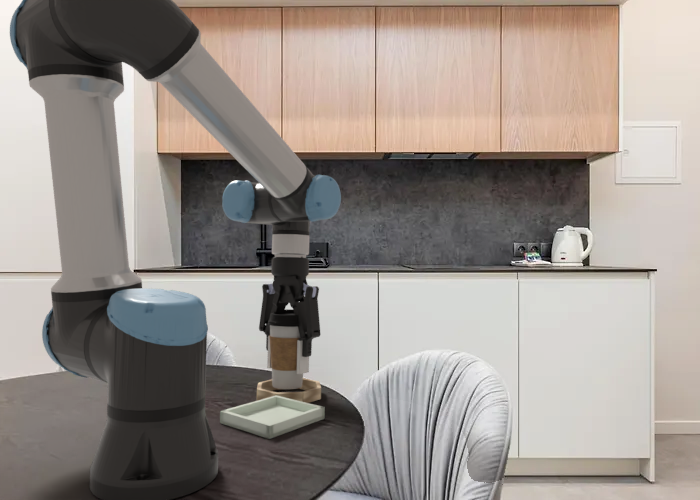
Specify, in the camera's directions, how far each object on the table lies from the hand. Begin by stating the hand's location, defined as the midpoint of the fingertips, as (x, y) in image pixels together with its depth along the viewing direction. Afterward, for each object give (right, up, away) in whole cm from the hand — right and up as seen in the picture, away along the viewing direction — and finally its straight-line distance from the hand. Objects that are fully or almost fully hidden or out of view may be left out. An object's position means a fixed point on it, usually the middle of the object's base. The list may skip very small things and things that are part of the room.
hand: (287, 369), depth 103 cm
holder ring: (0, -5, 0) cm, 5 cm away
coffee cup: (0, -3, 0) cm, 3 cm away
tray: (-1, -5, -16) cm, 16 cm away
